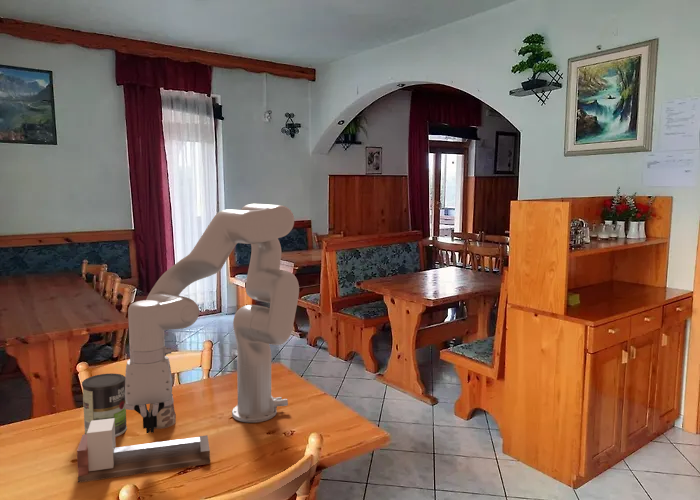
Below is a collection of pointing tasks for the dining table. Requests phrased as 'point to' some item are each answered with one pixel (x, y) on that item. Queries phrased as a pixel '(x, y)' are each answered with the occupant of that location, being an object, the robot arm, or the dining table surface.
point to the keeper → (101, 444)
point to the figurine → (165, 416)
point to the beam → (156, 450)
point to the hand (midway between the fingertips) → (150, 430)
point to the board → (139, 463)
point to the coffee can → (105, 400)
